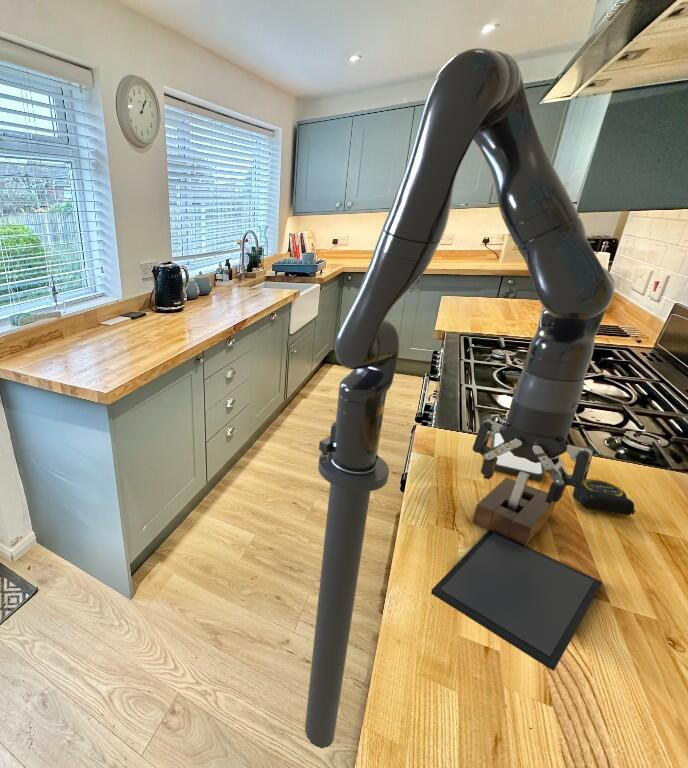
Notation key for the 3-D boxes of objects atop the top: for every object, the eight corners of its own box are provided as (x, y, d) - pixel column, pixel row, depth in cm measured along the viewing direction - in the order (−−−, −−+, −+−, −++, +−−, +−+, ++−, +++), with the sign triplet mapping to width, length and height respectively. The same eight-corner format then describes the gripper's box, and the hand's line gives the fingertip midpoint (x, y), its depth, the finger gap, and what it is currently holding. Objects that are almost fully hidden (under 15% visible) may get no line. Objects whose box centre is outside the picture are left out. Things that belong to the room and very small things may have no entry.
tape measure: (579, 512, 74) (585, 495, 73) (564, 490, 80) (570, 474, 78) (630, 522, 71) (638, 504, 70) (611, 498, 77) (619, 481, 76)
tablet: (430, 593, 60) (431, 588, 60) (488, 533, 71) (490, 528, 70) (553, 671, 49) (556, 666, 49) (600, 586, 60) (603, 581, 60)
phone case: (543, 483, 83) (539, 446, 94) (545, 476, 82) (541, 440, 94) (488, 470, 88) (491, 436, 99) (490, 463, 87) (492, 430, 99)
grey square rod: (501, 524, 72) (518, 472, 70) (503, 522, 73) (521, 471, 70) (509, 527, 71) (527, 475, 69) (511, 525, 72) (530, 474, 69)
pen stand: (472, 522, 73) (476, 504, 72) (501, 494, 80) (506, 476, 78) (524, 547, 67) (531, 528, 66) (551, 514, 74) (558, 496, 72)
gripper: (615, 408, 60) (580, 500, 66) (499, 381, 71) (478, 462, 77) (601, 424, 56) (565, 520, 62) (480, 393, 67) (460, 477, 73)
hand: (517, 488), depth 69 cm, fingers open, 8 cm apart
